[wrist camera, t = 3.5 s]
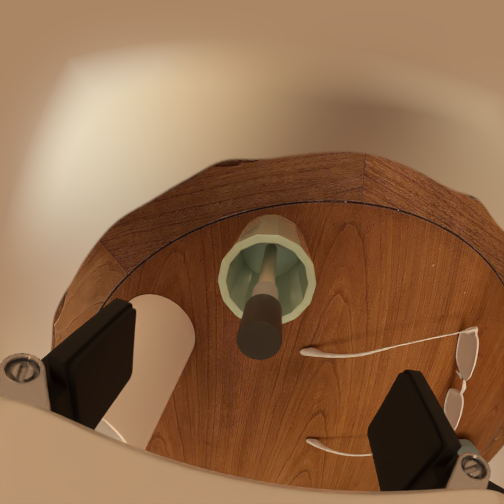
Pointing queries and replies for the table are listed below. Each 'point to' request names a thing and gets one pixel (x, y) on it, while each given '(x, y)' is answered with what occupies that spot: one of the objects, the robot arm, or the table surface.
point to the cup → (150, 369)
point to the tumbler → (250, 262)
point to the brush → (262, 314)
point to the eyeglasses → (454, 398)
